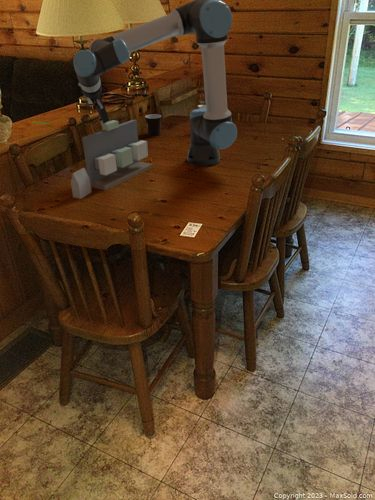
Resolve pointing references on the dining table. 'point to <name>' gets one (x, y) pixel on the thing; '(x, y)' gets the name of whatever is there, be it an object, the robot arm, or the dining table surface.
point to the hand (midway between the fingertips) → (98, 112)
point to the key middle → (123, 156)
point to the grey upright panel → (103, 145)
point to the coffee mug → (153, 124)
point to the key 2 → (139, 149)
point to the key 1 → (105, 164)
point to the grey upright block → (80, 184)
